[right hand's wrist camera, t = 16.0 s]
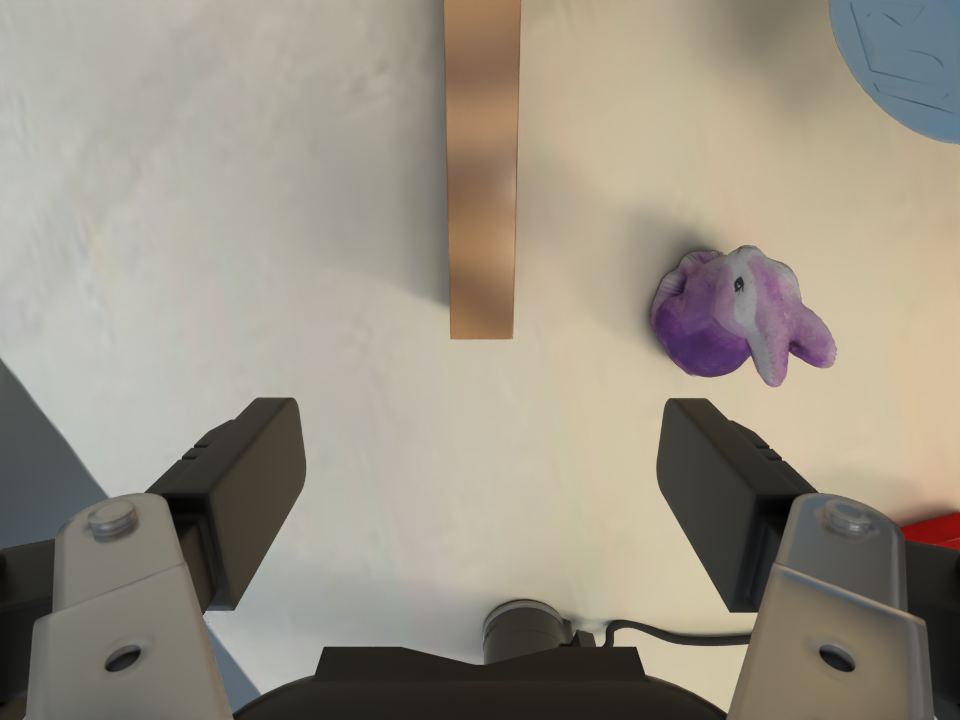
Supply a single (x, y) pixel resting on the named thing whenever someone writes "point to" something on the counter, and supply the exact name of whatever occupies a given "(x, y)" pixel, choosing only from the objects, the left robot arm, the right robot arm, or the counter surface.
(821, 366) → the figurine
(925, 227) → the counter surface
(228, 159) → the counter surface
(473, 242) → the post
